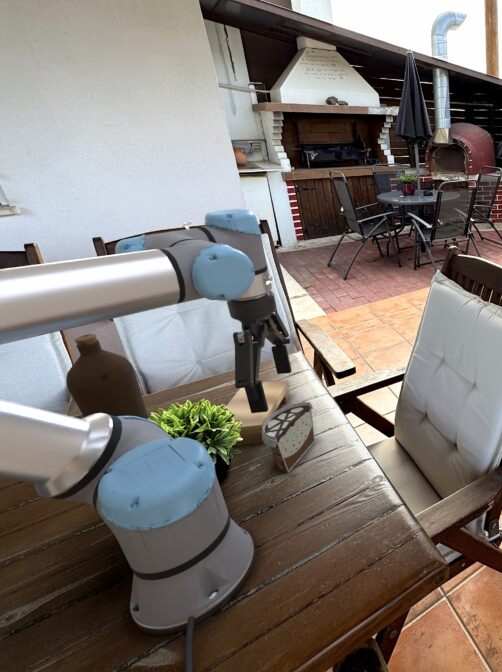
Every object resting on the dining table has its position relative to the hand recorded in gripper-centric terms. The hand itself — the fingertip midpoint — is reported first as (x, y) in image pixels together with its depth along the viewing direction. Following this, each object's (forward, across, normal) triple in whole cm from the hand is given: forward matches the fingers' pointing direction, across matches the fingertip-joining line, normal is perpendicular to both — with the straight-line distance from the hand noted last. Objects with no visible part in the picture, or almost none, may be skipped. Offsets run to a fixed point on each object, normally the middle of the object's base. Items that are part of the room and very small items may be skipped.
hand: (273, 390), depth 82 cm
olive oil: (+17, +15, +41) cm, 47 cm away
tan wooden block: (+17, +14, +12) cm, 25 cm away
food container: (+17, 0, 0) cm, 17 cm away
